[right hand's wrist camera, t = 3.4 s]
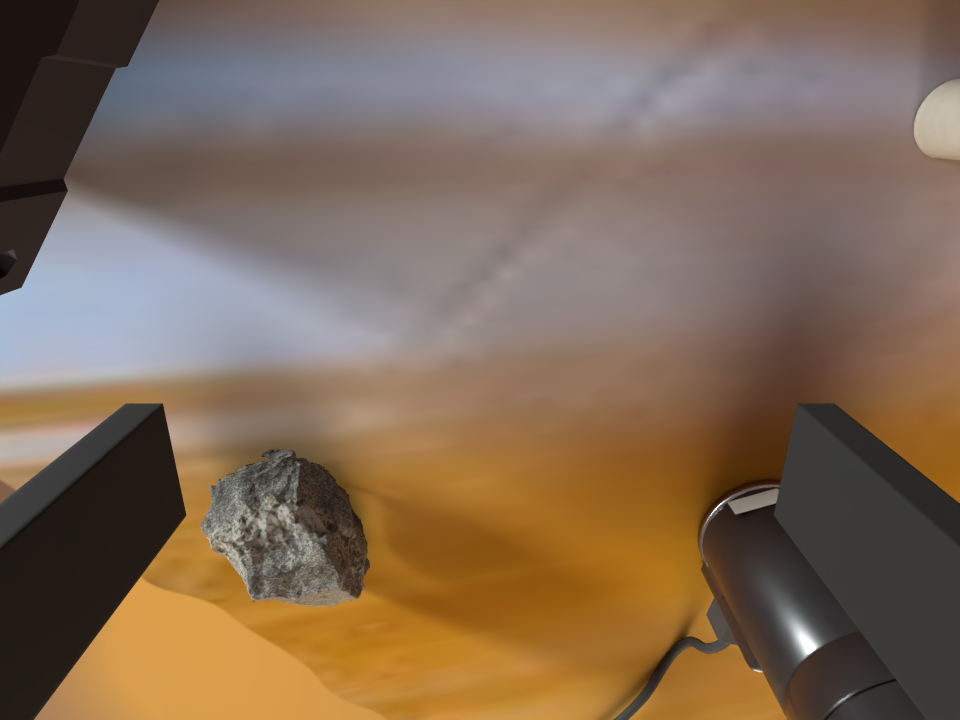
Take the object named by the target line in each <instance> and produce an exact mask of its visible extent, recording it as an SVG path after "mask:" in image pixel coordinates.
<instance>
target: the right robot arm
mask: <svg viewBox="0 0 960 720" xmlns="http://www.w3.org/2000/svg"><path fill="white" fill-rule="evenodd" d="M185 516H186V512H185V507H184V502H183V497H182V493H181V488H180V483H179V478H178V474H177V469H176V464H175V459H174V455H173V450H172V445H171V440H170V435H169V431H168V426H167V421H166V416H165V412H164V407H163V404H125V405H123V406H122V407H121V408H120V409H118V410H117V411H116V412H115V413H113V414H112V415H111V416H110V417H108V418H107V419H106V420H105V421H103V422H102V423H101V424H100V425H98V426H97V427H96V428H95V429H93V430H92V431H91V432H90V433H88V434H87V435H86V436H85V437H83V438H82V439H81V440H79V441H78V442H77V443H76V444H74V445H73V446H72V447H71V448H69V449H68V450H67V451H66V452H64V453H63V454H62V455H61V456H59V457H58V458H57V459H56V460H54V461H53V462H52V463H51V464H49V465H48V466H47V467H46V468H44V469H43V470H42V471H41V472H39V473H38V474H37V475H36V476H34V477H33V478H32V479H30V480H29V481H28V482H27V483H25V484H24V485H23V486H22V487H20V488H19V489H18V490H17V491H15V492H14V493H13V494H12V495H10V496H9V497H8V498H7V499H5V500H4V501H3V502H2V503H0V720H34V719H35V717H36V716H37V715H38V713H39V712H40V711H41V709H42V708H43V707H44V705H45V704H46V703H47V701H48V700H49V699H50V697H51V696H52V695H53V693H54V692H55V691H56V689H57V688H58V687H59V685H60V684H61V683H62V681H63V680H64V678H65V677H66V676H67V674H68V673H69V672H70V670H71V669H72V668H73V666H74V665H75V664H76V662H77V661H78V660H79V658H80V657H81V656H82V654H83V653H84V652H85V650H86V649H87V648H88V646H89V645H90V644H91V642H92V641H93V640H94V638H95V637H96V636H97V634H98V633H99V632H100V630H101V629H102V627H103V626H104V625H105V624H106V622H107V621H108V620H109V618H110V617H111V615H112V614H113V613H114V611H115V610H116V609H117V607H118V606H119V605H120V603H121V602H122V601H123V599H124V598H125V597H126V595H127V594H128V593H129V591H130V590H131V589H132V587H133V586H134V585H135V583H136V582H137V581H138V579H139V578H140V577H141V575H142V574H143V573H144V571H145V570H146V569H147V567H148V566H149V565H150V563H151V562H152V561H153V559H154V558H155V557H156V555H157V554H158V553H159V551H160V550H161V548H162V547H163V546H164V544H165V543H166V542H167V540H168V539H169V538H170V536H171V535H172V534H173V532H174V531H175V530H176V528H177V527H178V526H179V524H180V523H181V522H182V520H183V519H184V518H185ZM774 516H775V518H776V519H777V520H778V522H779V523H780V524H781V526H782V527H783V528H784V530H785V531H786V532H787V534H788V535H789V536H790V538H791V539H792V540H793V542H794V543H795V544H796V546H797V547H798V548H799V550H800V551H801V553H802V554H803V555H804V557H805V558H806V559H807V561H808V562H809V563H810V565H811V566H812V567H813V569H814V570H815V571H816V573H817V574H818V575H819V577H820V578H821V579H822V581H823V582H824V583H825V585H826V586H827V587H828V589H829V590H830V591H831V593H832V594H833V595H834V597H835V598H836V599H837V601H838V602H839V603H840V605H841V606H842V607H843V609H844V610H845V611H846V613H847V614H848V615H849V617H850V618H851V620H852V621H853V622H854V624H855V625H856V626H857V628H858V629H859V630H860V632H861V633H862V634H863V636H864V637H865V638H866V640H867V641H868V642H869V644H870V645H871V646H872V648H873V649H874V650H875V652H876V653H877V654H878V656H879V657H880V658H881V660H882V661H883V662H884V664H885V665H886V666H887V668H888V669H889V670H890V672H891V673H892V674H893V676H894V677H895V678H896V680H897V681H898V683H899V684H900V685H901V687H902V688H903V689H904V691H905V692H906V693H907V695H908V696H909V697H910V699H911V700H912V701H913V703H914V704H915V705H916V707H917V708H918V709H919V711H920V712H921V713H922V715H923V716H924V717H925V719H926V720H960V503H958V502H957V501H956V500H955V499H953V498H952V497H951V496H950V495H948V494H947V493H946V492H945V491H943V490H942V489H941V488H940V487H938V486H937V485H936V484H935V483H933V482H932V481H931V480H930V479H928V478H927V477H926V476H924V475H923V474H922V473H921V472H919V471H918V470H917V469H916V468H914V467H913V466H912V465H911V464H909V463H908V462H907V461H906V460H904V459H903V458H902V457H901V456H899V455H898V454H897V453H896V452H894V451H893V450H892V449H891V448H889V447H888V446H887V445H886V444H884V443H883V442H882V441H881V440H879V439H878V438H877V437H875V436H874V435H873V434H872V433H870V432H869V431H868V430H867V429H865V428H864V427H863V426H862V425H860V424H859V423H858V422H857V421H855V420H854V419H853V418H852V417H850V416H849V415H848V414H847V413H845V412H844V411H843V410H842V409H840V408H839V407H838V406H837V405H835V404H797V407H796V412H795V416H794V421H793V426H792V431H791V435H790V440H789V445H788V450H787V455H786V459H785V464H784V469H783V474H782V478H781V483H780V488H779V493H778V497H777V502H776V507H775V512H774Z"/></svg>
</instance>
